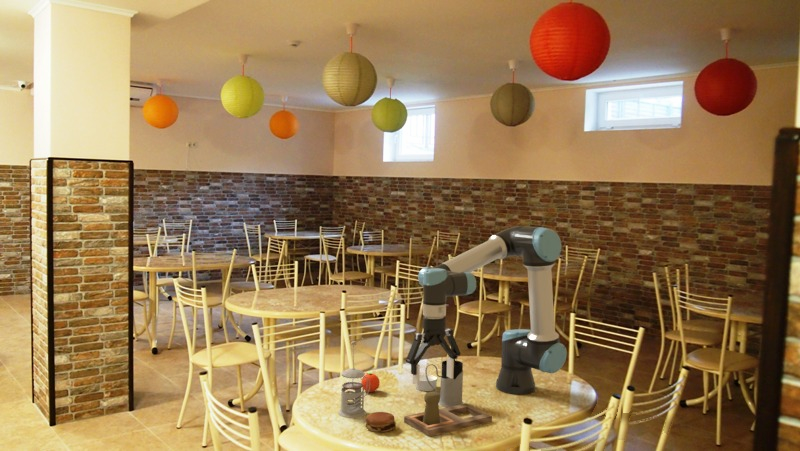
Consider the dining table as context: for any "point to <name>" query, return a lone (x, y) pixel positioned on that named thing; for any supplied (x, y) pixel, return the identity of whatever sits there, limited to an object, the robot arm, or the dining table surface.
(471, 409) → the socket rail
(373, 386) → the tomato
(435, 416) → the cork
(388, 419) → the burger
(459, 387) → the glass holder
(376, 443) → the dining table surface
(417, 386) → the ramekin
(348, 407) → the french press
